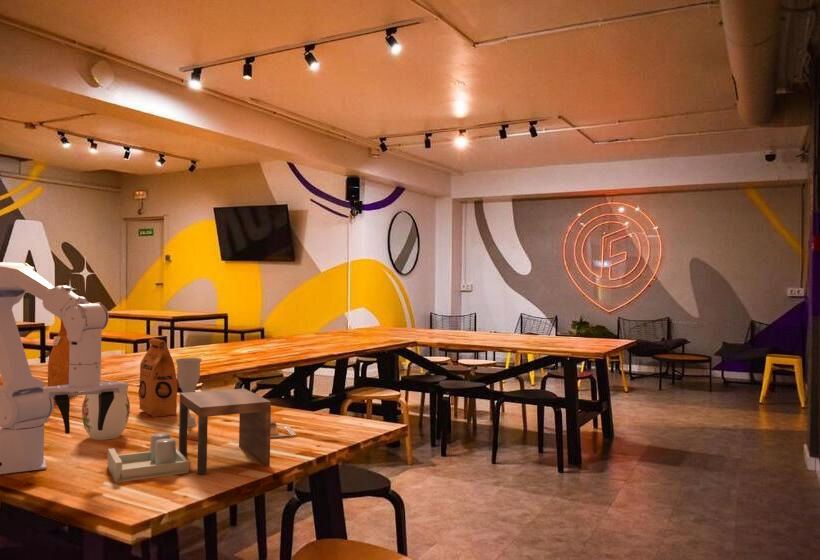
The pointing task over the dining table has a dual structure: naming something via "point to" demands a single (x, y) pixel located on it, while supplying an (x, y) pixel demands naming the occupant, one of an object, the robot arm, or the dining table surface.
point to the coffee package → (158, 381)
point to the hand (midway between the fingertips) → (83, 431)
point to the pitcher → (114, 417)
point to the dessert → (274, 427)
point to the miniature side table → (226, 403)
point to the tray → (148, 461)
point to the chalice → (188, 379)
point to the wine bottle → (59, 360)
